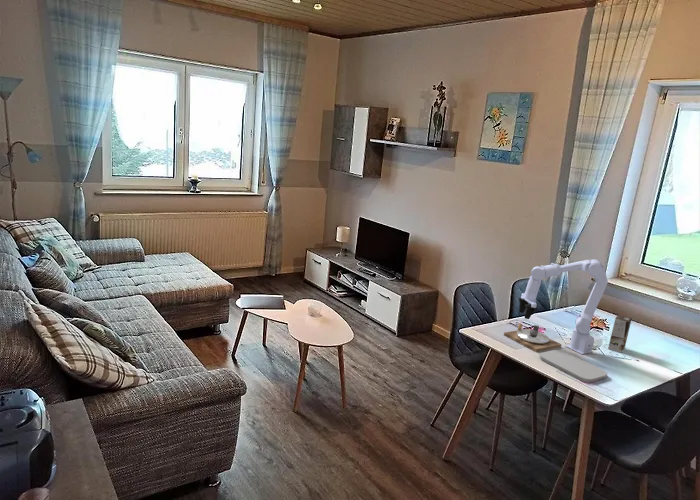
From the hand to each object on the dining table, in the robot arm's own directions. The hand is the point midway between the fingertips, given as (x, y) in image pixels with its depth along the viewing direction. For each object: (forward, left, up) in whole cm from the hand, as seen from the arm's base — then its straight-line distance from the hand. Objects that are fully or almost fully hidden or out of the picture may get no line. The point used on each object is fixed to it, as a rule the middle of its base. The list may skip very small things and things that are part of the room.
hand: (523, 315), depth 251 cm
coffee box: (-27, -39, -11) cm, 48 cm away
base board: (-7, -1, -11) cm, 13 cm away
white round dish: (-7, -1, -9) cm, 12 cm away
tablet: (-34, +5, -12) cm, 36 cm away
